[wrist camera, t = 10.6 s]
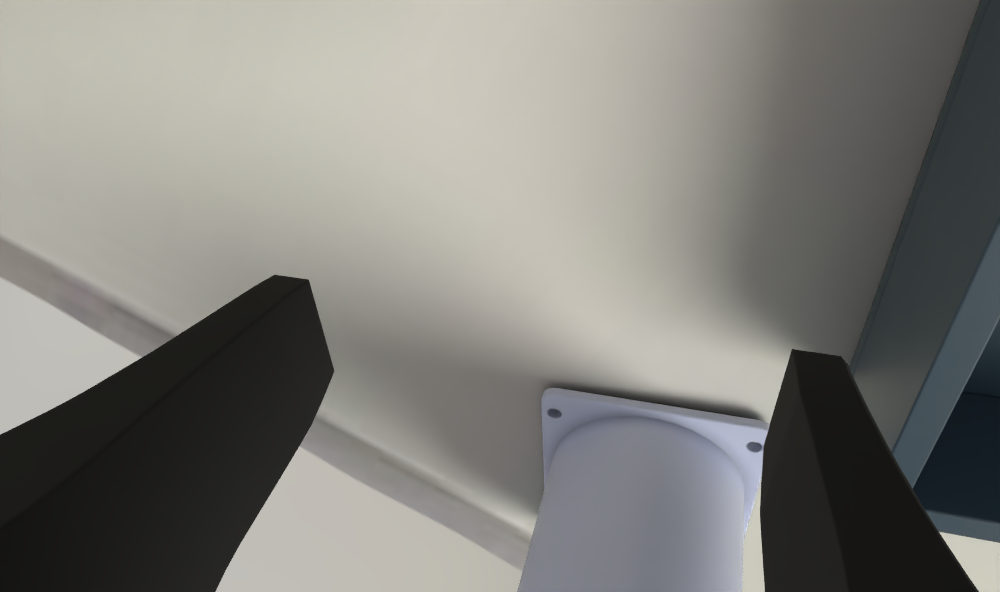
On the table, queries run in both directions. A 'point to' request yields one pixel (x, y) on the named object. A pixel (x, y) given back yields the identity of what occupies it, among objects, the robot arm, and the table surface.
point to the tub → (947, 308)
